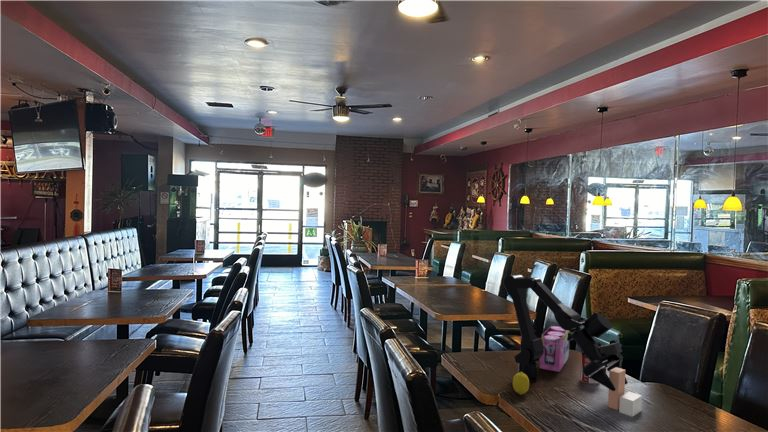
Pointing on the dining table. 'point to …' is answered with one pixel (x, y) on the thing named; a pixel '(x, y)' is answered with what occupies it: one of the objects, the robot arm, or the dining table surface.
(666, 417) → the dining table surface
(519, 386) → the lemon
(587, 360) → the soda can
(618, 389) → the stub
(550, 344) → the gum box
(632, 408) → the white long block
